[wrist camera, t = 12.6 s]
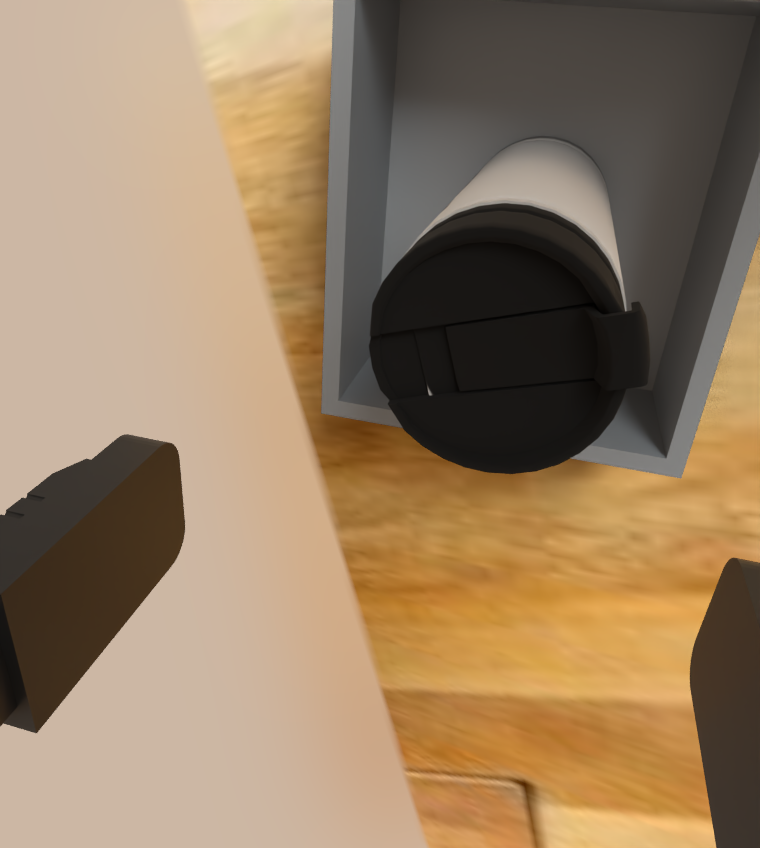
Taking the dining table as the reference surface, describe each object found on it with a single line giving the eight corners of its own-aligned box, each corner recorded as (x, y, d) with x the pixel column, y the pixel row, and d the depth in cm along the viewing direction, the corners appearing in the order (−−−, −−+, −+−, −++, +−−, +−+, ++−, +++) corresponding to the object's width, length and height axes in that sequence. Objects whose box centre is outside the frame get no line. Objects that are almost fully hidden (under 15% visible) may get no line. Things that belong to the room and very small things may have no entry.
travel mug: (623, 259, 33) (663, 478, 16) (484, 283, 35) (387, 499, 18) (608, 117, 30) (637, 195, 13) (459, 153, 33) (321, 259, 16)
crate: (389, -26, 31) (334, -51, 24) (778, -5, 28) (842, -25, 21) (366, 351, 40) (321, 413, 33) (662, 399, 37) (681, 478, 30)
